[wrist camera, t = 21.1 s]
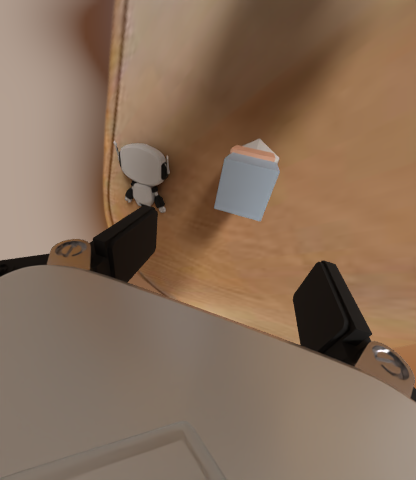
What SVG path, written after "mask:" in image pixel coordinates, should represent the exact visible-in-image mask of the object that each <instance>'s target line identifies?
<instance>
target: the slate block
mask: <svg viewBox="0 0 416 480" xmlns="http://www.w3.org/2000/svg"><path fill="white" fill-rule="evenodd" d="M279 172H280V171H279V168H278V165H277V163H276V162H272V161H267V160H263V159H259V158H255V157H251V156H246V155H242V154H238V153H234V152H232V153H231V154H230V155H228V156H227V157H226V158H225V159H224V164H223V168H222V173H221V178H220V182H219V187H218V192H217V196H216V201H215V206H214V209H218V210H221V211H225V212H228V213H232V214H236V215H239V216H243V217H246V218H250V219H254V220H257V221H261V219H262V216H263V214H264V211H265V209H266V206H267V203H268V201H269V198H270V196H271V193H272V190H273V188H274V185H275V183H276V180H277V177H278V175H279Z"/></svg>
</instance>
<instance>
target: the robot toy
mask: <svg viewBox="0 0 416 480" xmlns="http://www.w3.org/2000/svg"><path fill="white" fill-rule="evenodd" d="M114 145H115V147H116V151H117V154H118V160H119V162H120V166H121V168H122V171H123V172H124V174H125V175H126V176H127V177H129V178H130V179H132V180H133V181H132V183H131V185H132V187H131V188H129V189H128V190H127V192H126V195H125V200H126V201H127V200H128V202H129V203H130V202H131V201H132V199H133V198H134V199H135V200H136V202H137V204H138V205H139V206H144V205H147V206H151V205H152V204H153V202H155V204H156V207H157V208H159V211H160V212H161V213H163V212H165V211H166V208H165V207H164V205H165V203H164V201H163V198H162V197H161V196H159V195H158V193H157V191H158V188H157V186H156V185H158V184H160V183H162V182H163V181H164V180H165V179H166V178H167V177H168V175H169V174H170V170H169V163H168V155H167V156H166V159H167V162H166V159H165V157H164V155H163V154H162V153H161V152H160V151H158V150H157V149H155V148H153V147H151V146H149V145H147V144H141V143H132V144H128V145H125V146H123V147H122V148H121V151H120V152H118V148H117V144H116V142H115V141H114Z"/></svg>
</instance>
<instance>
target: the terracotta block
mask: <svg viewBox="0 0 416 480" xmlns="http://www.w3.org/2000/svg"><path fill="white" fill-rule="evenodd" d="M232 152H234V153H238V154H242V155H246V156H251V157H255V158H259V159H263V160H267V161H272V162H274V161H275V159H276V158H275V155H274V153H271V152H266V151H262V150H257V149H253V148H248V147H244V146H239V145H236V146H234V147H232V148H231V151H230V154H231V153H232Z"/></svg>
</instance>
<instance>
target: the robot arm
mask: <svg viewBox="0 0 416 480" xmlns="http://www.w3.org/2000/svg"><path fill="white" fill-rule="evenodd" d="M157 217H158V212H157V211H155V208H154V207H151V206H147V205H144V206H142V207H140V208H139V209H137V210H136V211H134V212H133V213H131V214H130V215H128V216H126V217H125V218H123V219H122V220H120V221H119V222H117V223H116V224H114V225H113V226H111V227H109V228H108V229H106V230H105V231H103V232H102V233H100V234H99V235H97V236H95V237H94V238H93V241H92V242H90V243H88V241H85V240H81V239H71V240H65V241H62V242H60V243H58V244H56V245H55V246H53V247H52V249H51V251H50V254H44V255H37V256H30V257H23V258H15V259H8V260H2V261H0V480H416V389H415V388H414V383H415V380H414V379H415V378H414V375H413V372H412V370H411V369H410V367H409V366H408V364H407V363H406V362H405V361H404V360H403V359H402V357H401V356H399V355H398V354H397V353H396V352H395V351H394V350H392V349H391V348H389V347H388V346H386V345H384V344H382V343H379V342H376V341H373V342H371V340H370V338H369V336H371V335H372V333H371V331H370V329H369V327H368V325H367V323H366V321H365V319H364V317H363V315H362V314H361V312H360V310H359V308H358V306H357V304H356V302H355V300H354V298H353V297H352V295H351V293H350V291H349V289H348V287H347V285H346V283H345V281H344V279H343V278H342V276H341V274H340V272H339V270H338V268H337V266H336V265H335V264H333V263H330V262H327V261H321V262H317V263H316V264H315V266H314V267H313V269H312V270H311V271H310V273H309V274H308V276H307V277H306V278H305V280H304V281H303V282H302V284H301V285H300V287H299V288H298V289H297V291H296V292H295V294H294V296H293V303H294V309H295V315H296V320H297V326H298V332H299V338H300V344H301V345H298V344H295V343H293V342H290V341H287V340H285V339H282V338H279V337H276V336H274V335H271V334H268V333H266V332H263V331H260V330H257V329H255V328H252V327H249V326H247V325H244V324H241V323H238V322H236V321H233V320H230V319H227V318H225V317H222V316H219V315H216V314H214V313H211V312H208V311H205V310H203V309H200V308H197V307H194V306H192V305H189V304H186V303H183V302H181V301H178V300H175V299H172V298H169V297H167V296H164V295H161V294H158V293H155V292H152V291H150V290H147V289H144V288H141V287H138V286H135V285H133V284H130V283H127V282H128V281H129V280H130V279H131V278H132V277H133V275H134V274H135V273H136V272H137V271H138V270H139V269H140V268H141V266H142V265H143V264H144V263H145V262H146V261H147V260H148V258H149V257H150V256H151V255H152V254H153V253H154V251H155V249H156V235H157Z"/></svg>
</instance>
